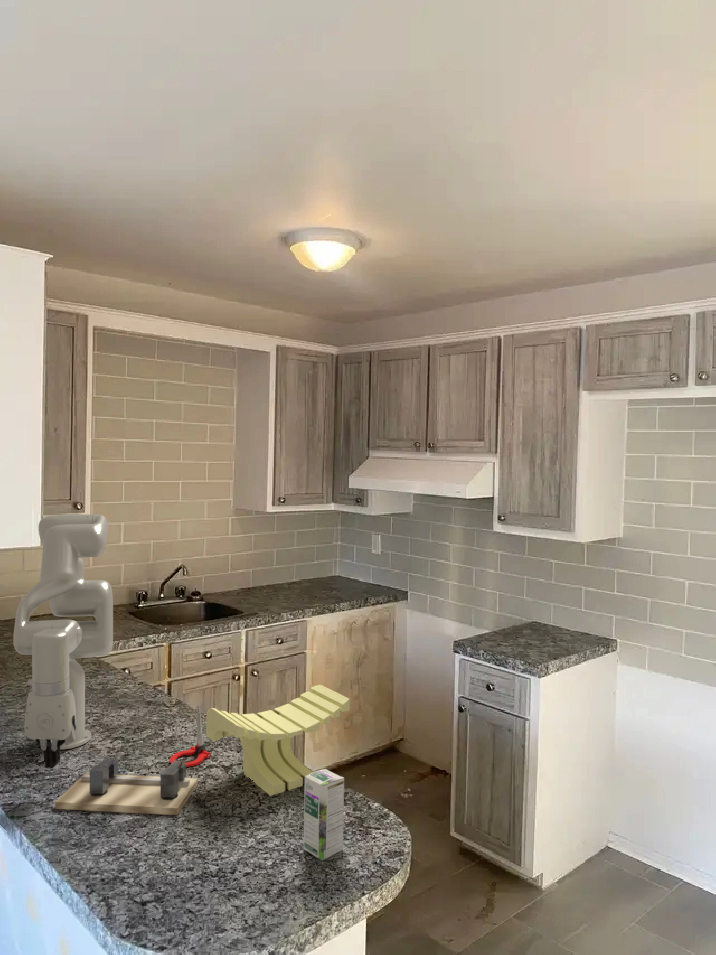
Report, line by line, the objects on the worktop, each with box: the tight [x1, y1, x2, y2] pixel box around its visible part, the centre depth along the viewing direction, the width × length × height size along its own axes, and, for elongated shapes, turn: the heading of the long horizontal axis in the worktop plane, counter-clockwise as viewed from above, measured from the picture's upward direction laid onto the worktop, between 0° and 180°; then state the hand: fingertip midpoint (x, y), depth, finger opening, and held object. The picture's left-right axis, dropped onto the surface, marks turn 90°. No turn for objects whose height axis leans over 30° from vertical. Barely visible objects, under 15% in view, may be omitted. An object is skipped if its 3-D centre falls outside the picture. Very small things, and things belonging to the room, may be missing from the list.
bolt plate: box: [54, 760, 199, 816], centre depth 160 cm, size 27×14×7 cm, turn 85°
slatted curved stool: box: [205, 684, 351, 797], centre depth 171 cm, size 30×16×18 cm, turn 126°
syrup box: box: [303, 768, 345, 862], centre depth 139 cm, size 6×6×14 cm
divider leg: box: [89, 756, 120, 794], centre depth 161 cm, size 3×8×5 cm, turn 175°
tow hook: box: [169, 704, 212, 768], centre depth 179 cm, size 8×13×9 cm
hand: (52, 765), depth 160 cm, fingers closed
